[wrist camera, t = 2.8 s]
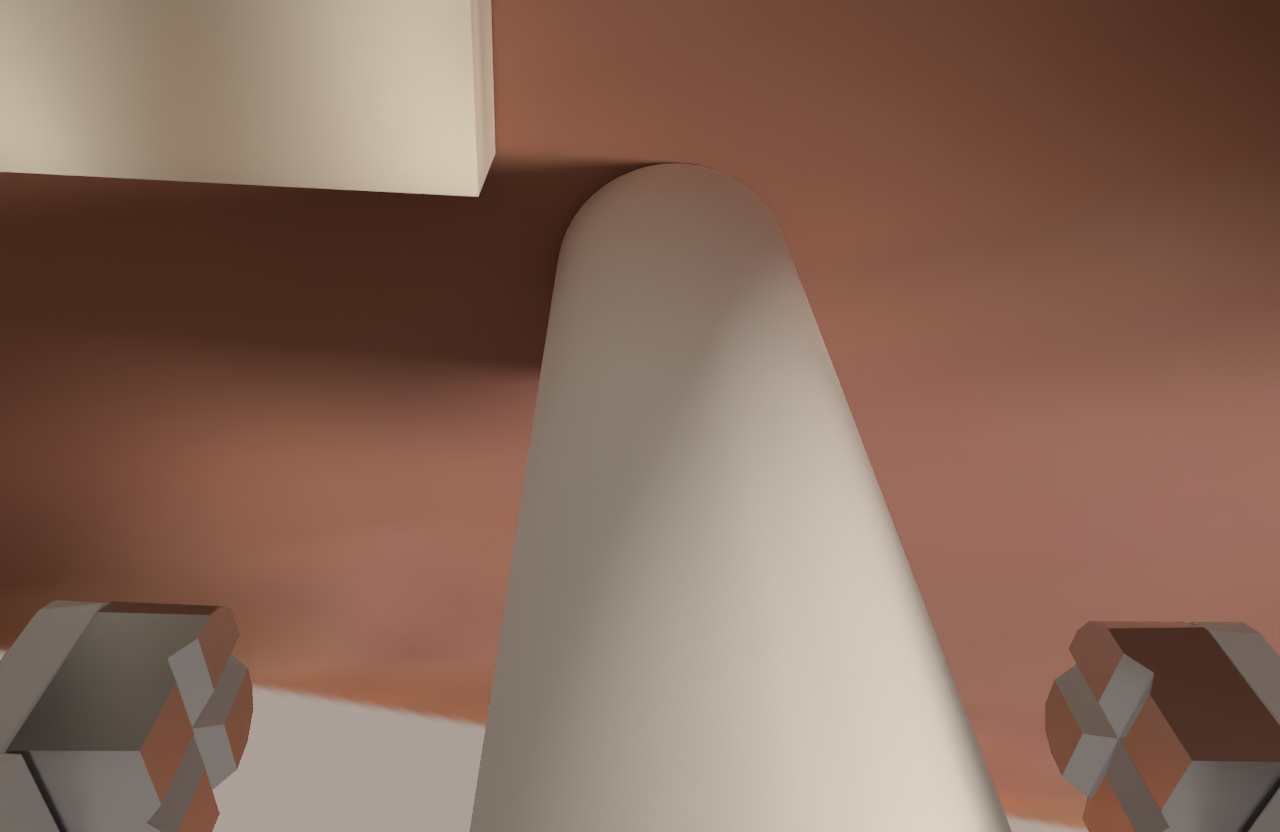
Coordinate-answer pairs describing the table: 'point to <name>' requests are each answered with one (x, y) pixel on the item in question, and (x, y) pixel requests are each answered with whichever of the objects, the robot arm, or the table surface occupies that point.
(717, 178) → the peg
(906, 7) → the table surface
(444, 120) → the canopy socket
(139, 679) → the robot arm
